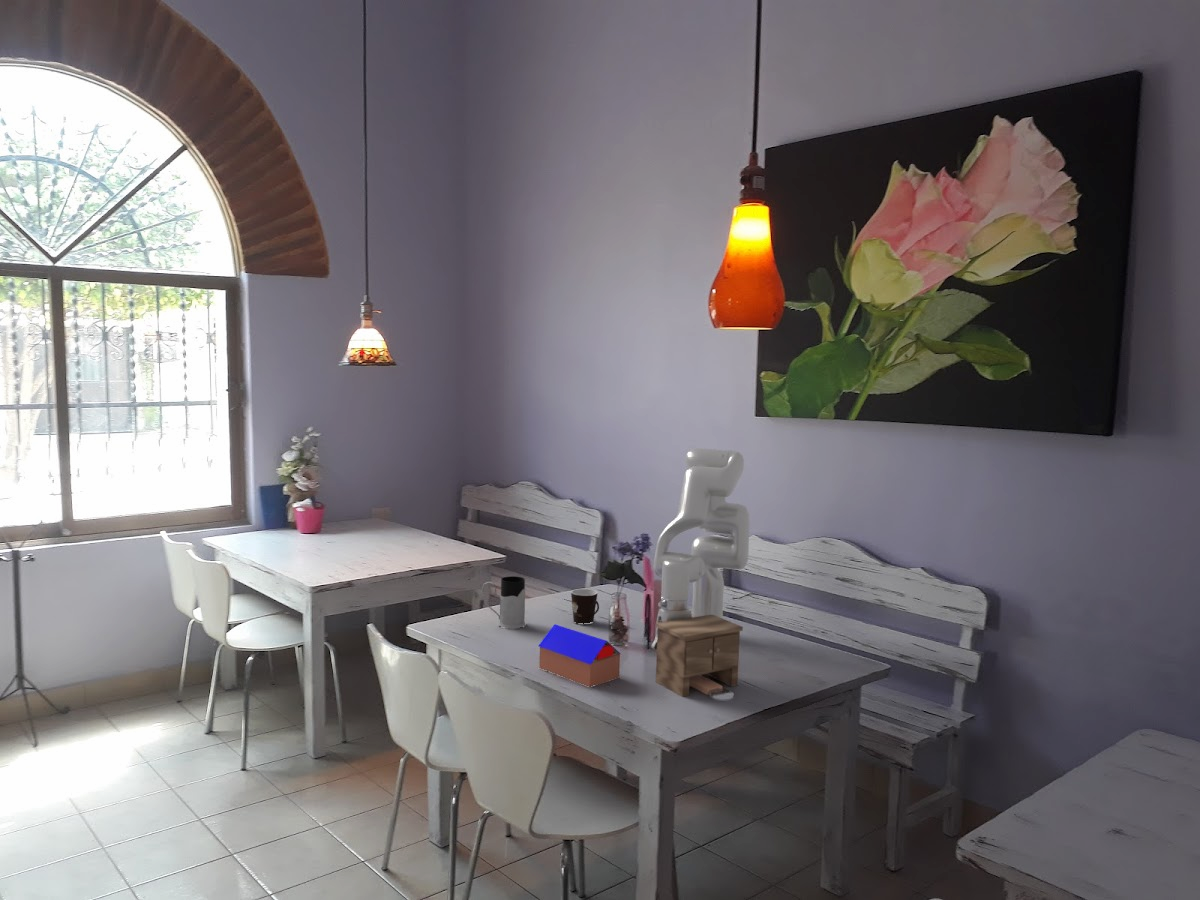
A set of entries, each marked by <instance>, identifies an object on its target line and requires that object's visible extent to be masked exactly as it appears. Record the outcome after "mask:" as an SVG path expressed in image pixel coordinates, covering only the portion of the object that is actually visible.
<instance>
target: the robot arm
mask: <svg viewBox="0 0 1200 900" xmlns="http://www.w3.org/2000/svg"><path fill="white" fill-rule="evenodd" d="M744 459H745V458H743V454H742V453H740V452H739V451H736V450H727V449H715V448H714V449H713V448H694V449H693V448H692V449H690V450H689V451H687V453H686V455H685V463H686V467H687V469H686V471H685V473H684V474H683V480H682V485H681V491H680V497H679V502H678V509H677V513H676V517H675V518H674V519H673V520H671V521H669V523H668V524H667V525H666V527H664V529H663V530H662V532H661V533H660V534H659V536H658V539H657V541H656V546H655V552H654V558H653V572H654V574H655V575H656V576H657V577H659V578H661V593H660V601H658V603H657V606H658V607H659V609H658V611H657V617H656V622H655V623H659V622H665V621H672V620H679V619H685V618H692V617H699V616H705V615H714V616H717V617H719V618H722V619H723V616H724V614H723V613H724V610H723V609H724V591H725V589H724V587H725V581H724V577H723V576H722V574H721V572H720V570H719V569H727V570H738V571H739V570H743V569H744V568H746V566H747V564H748V561H749V560H748V559H749V548H750V547H749V546H750V545H749V544H750V514H749V510H748V508H747V507H746V506H745V505H743V504H742V503H741V504H739V503H731V502H727V501H726V498H728V497H730V496H731V495H732V494H733V492H734V491H735V488H736V487H737V485H738V483H739V480H740V478H742V477H741V476H742V474H743V471H744V468H745V461H744ZM695 528H699V530H700V531H703V532H706V533H707V532H708V533H713V534H714V533H715V534H723V535H730V536H731V537H723V536H718V535H716V536H715V535H700V536H698V537H696V538H695V539H694V540H693V542H692V544H691V553H690V554H689V553H683V552H674V551H673V552H672V551H669V546H670V544H671V543H672V541H673V539H675V537H677V536H678V535H681V534H682V533H684V532H686V531H689V530H692V529H695ZM690 583H692V584H693V585H692V602H691V603H692V605H691V608H690V607H689V602H690V601H689V599H690V598H689V597H690ZM657 634H658V628H657V627H655V634H654V635H655V638H654V640H653V642H652V644H651V648H652V649H653V650H655V651H656V652H657Z"/></svg>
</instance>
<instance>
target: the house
mask: <svg viewBox="0 0 1200 900" xmlns="http://www.w3.org/2000/svg"><path fill="white" fill-rule="evenodd" d="M538 647H539V663H538V664H539V665H538V666H539V668H541V669H544V670H547V671H550V672H552V673H555V674H558V675H560V676H563V677H565V678H568V679H571V680H573V681H575V682H578V683H581V684H584V685H586V686H589V687H591V686H593V685H597V684H599V685H601V684H600V683H602V684H604V683H603V682H605V683H607V681H608V682H610V681H609V680H611V681H613V680H612V679H614V680H616V679H615V678H617V679H619V678H620V662H621V660H620V657H621V653H620V651H618V650H617V649H616V647H614V645H612V644H611V643H610V642H608V640H606V639H602V638H599V637H596V636H593V635H589V634H586V633H583V632H580V631H578V630H575V629H571V628H567V627H565V626H562V625H558V624H553V625H552V626H551V628H550V630H549V631H548V633H547V634H546V635H545V636H544V637H543V639H542V640H541V641H540V643H539V644H538ZM541 669H540V670H541ZM618 677H619V678H618ZM565 678H564V679H565ZM573 681H572V682H573ZM575 682H574V683H575ZM578 683H577V684H578ZM581 684H580V685H581ZM584 685H583V686H584ZM586 686H585V687H586ZM597 686H598V685H597ZM589 687H588V688H589ZM591 688H592V687H591Z"/></svg>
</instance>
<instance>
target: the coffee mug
mask: <svg viewBox="0 0 1200 900" xmlns="http://www.w3.org/2000/svg"><path fill="white" fill-rule="evenodd" d="M570 594H571V605H572V606H571V607H572V616H573V617H572V619H573V623H574V622H576V623H583V624H584V623H590V622H593V623H594V620H595V615H596V614H597V613H598V612H599V610H600V603H599V602H598V599H597V598H598V591H597V590H594V589H591V588H589V589H588V588H578V589H577V588H576V589H573V590H571V591H570Z"/></svg>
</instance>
